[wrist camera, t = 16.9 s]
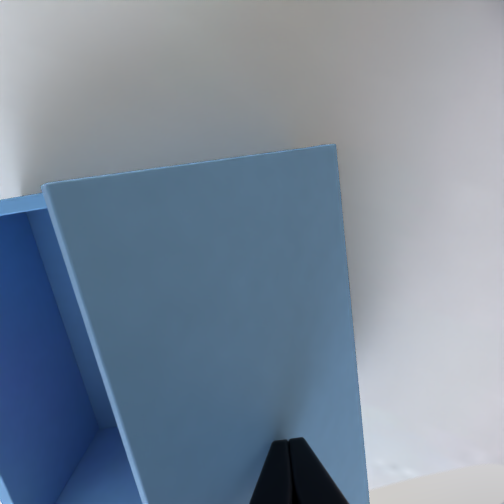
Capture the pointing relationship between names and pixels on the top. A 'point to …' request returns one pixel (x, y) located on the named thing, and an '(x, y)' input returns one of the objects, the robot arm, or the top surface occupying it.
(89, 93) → the top surface
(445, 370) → the top surface
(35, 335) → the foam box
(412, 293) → the top surface
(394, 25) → the top surface
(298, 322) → the flap
